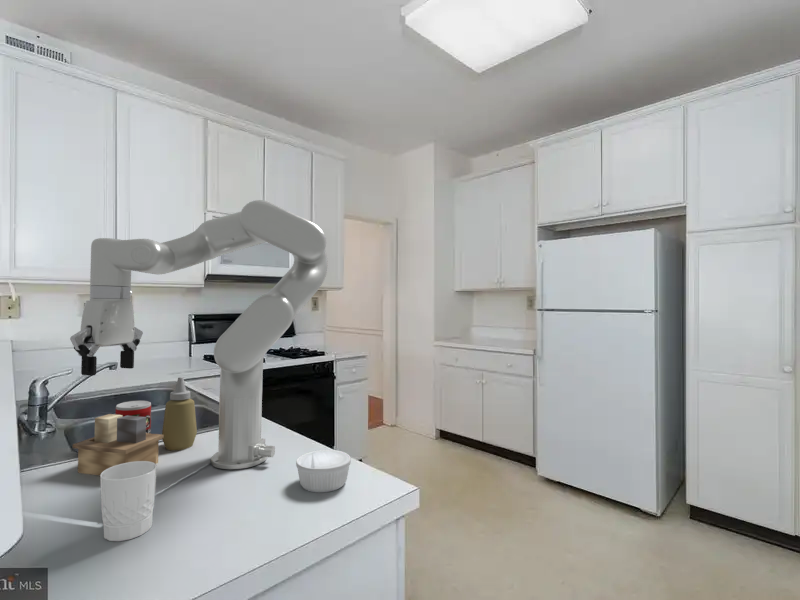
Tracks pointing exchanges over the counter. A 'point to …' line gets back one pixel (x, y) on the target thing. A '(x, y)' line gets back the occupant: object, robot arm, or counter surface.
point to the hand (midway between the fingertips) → (108, 371)
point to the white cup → (127, 499)
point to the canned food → (136, 411)
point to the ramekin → (323, 470)
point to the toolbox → (114, 458)
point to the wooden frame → (123, 437)
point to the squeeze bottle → (179, 419)
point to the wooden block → (106, 428)
